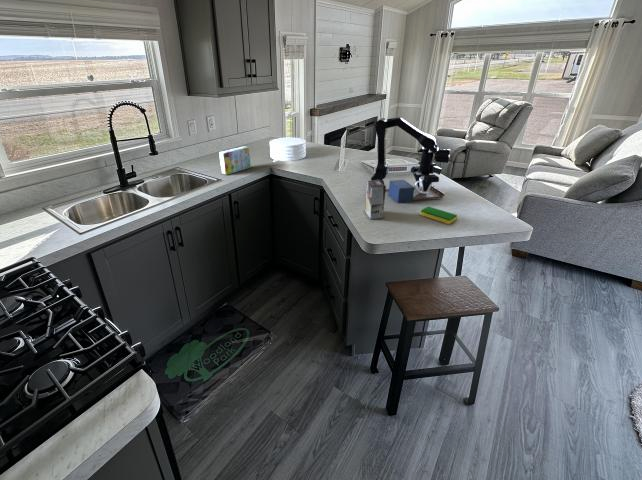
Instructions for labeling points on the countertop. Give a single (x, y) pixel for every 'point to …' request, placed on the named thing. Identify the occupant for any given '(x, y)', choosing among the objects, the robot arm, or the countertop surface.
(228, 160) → the snack box
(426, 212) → the dish sponge
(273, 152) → the plate stack
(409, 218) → the countertop surface
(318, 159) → the countertop surface
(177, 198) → the countertop surface
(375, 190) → the coffee box
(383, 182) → the robot arm
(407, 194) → the navy box
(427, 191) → the cup
